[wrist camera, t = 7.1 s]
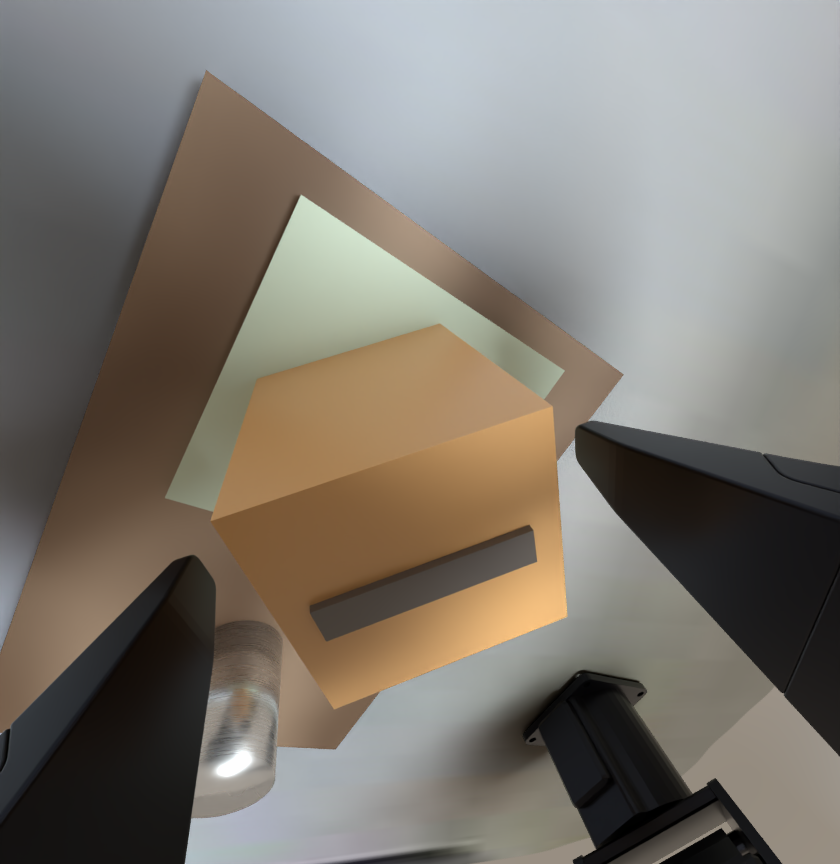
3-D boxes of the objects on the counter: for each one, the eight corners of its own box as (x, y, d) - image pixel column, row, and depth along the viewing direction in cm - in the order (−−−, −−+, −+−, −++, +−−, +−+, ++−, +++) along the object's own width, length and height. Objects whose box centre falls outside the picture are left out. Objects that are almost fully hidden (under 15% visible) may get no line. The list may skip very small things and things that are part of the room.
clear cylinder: (295, 628, 16) (291, 760, 12) (264, 677, 17) (250, 816, 13) (216, 613, 14) (182, 756, 11) (186, 668, 15) (144, 819, 11)
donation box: (439, 323, 11) (558, 409, 6) (469, 470, 14) (571, 622, 9) (257, 378, 11) (207, 528, 5) (323, 521, 13) (334, 716, 8)
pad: (558, 366, 13) (564, 370, 13) (418, 563, 16) (420, 570, 15) (301, 195, 10) (301, 194, 9) (168, 489, 12) (164, 497, 12)
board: (605, 365, 15) (623, 374, 14) (334, 727, 21) (335, 749, 20) (215, 84, 9) (205, 69, 8) (-8, 702, 15) (-28, 731, 14)
